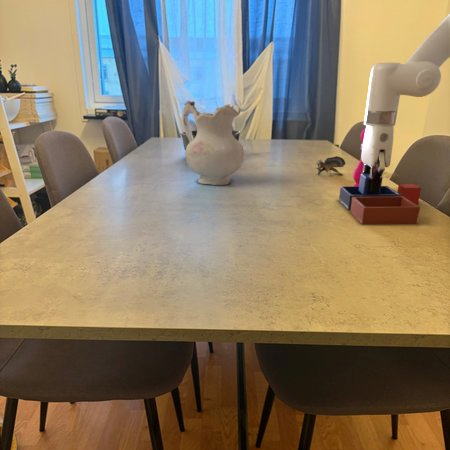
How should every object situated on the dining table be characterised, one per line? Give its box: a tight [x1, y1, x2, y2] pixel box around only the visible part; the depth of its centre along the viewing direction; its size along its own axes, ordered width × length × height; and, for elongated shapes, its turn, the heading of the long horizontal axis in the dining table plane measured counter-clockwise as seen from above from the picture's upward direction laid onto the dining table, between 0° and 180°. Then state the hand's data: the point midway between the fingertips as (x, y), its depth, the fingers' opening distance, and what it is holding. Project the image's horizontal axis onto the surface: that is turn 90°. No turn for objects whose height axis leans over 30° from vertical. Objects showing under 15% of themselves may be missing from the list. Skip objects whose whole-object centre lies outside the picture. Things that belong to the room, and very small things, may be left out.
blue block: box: [358, 174, 383, 194], centre depth 115 cm, size 4×4×4 cm
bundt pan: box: [180, 129, 241, 152], centre depth 191 cm, size 26×26×10 cm
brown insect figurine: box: [315, 155, 347, 177], centre depth 153 cm, size 8×7×9 cm
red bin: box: [349, 196, 421, 225], centre depth 107 cm, size 13×10×4 cm
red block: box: [396, 183, 422, 205], centre depth 120 cm, size 4×4×4 cm
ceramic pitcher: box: [181, 100, 245, 186], centre depth 141 cm, size 22×20×25 cm
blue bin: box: [338, 185, 401, 212], centre depth 117 cm, size 13×10×4 cm
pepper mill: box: [352, 127, 377, 186], centre depth 129 cm, size 7×7×20 cm
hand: (369, 191), depth 116 cm, fingers closed on blue block, 4 cm apart
